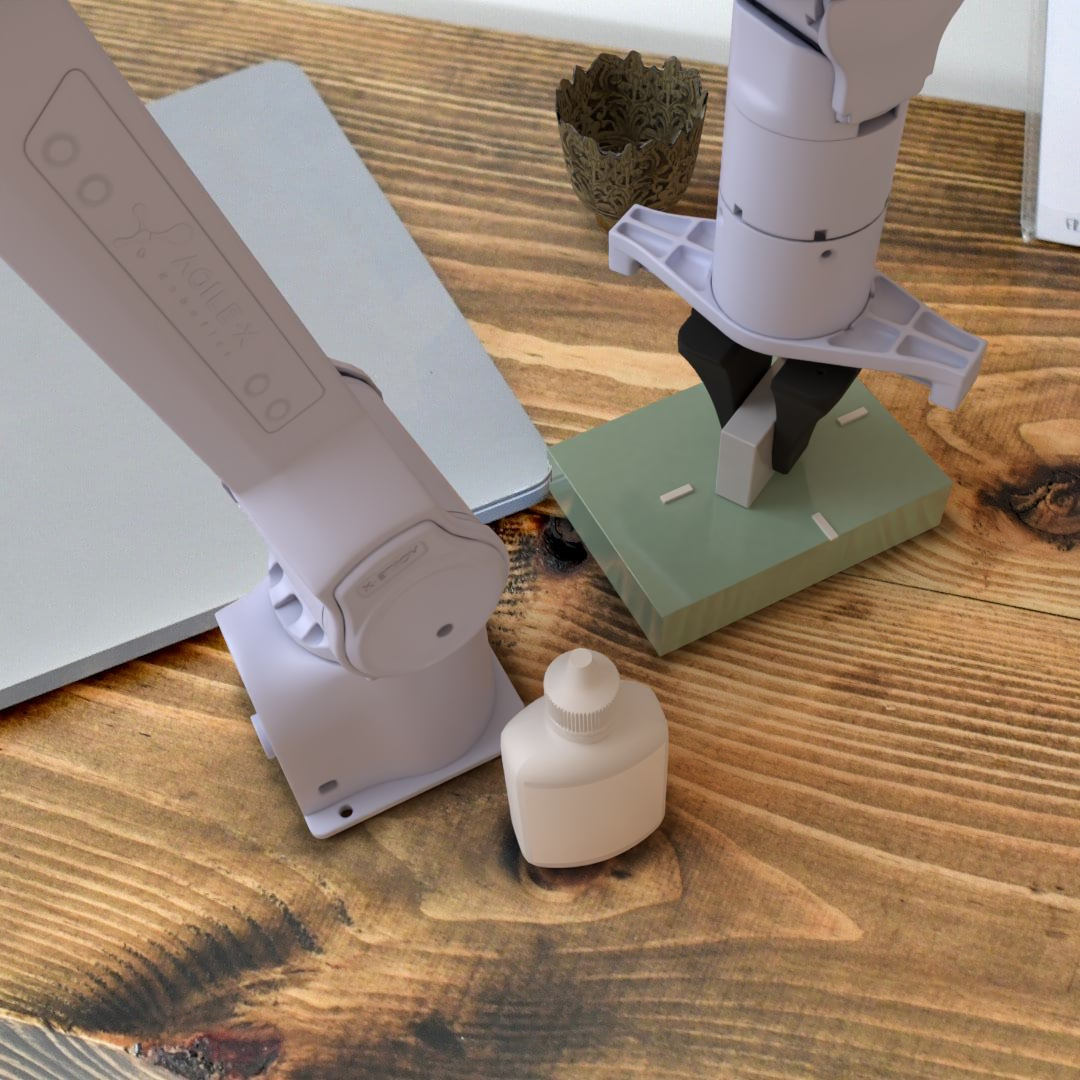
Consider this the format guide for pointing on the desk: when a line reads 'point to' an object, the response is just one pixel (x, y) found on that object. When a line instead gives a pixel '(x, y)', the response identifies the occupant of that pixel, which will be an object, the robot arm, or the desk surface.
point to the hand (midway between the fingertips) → (767, 446)
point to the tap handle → (749, 444)
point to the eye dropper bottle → (585, 764)
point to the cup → (630, 133)
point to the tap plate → (737, 509)
